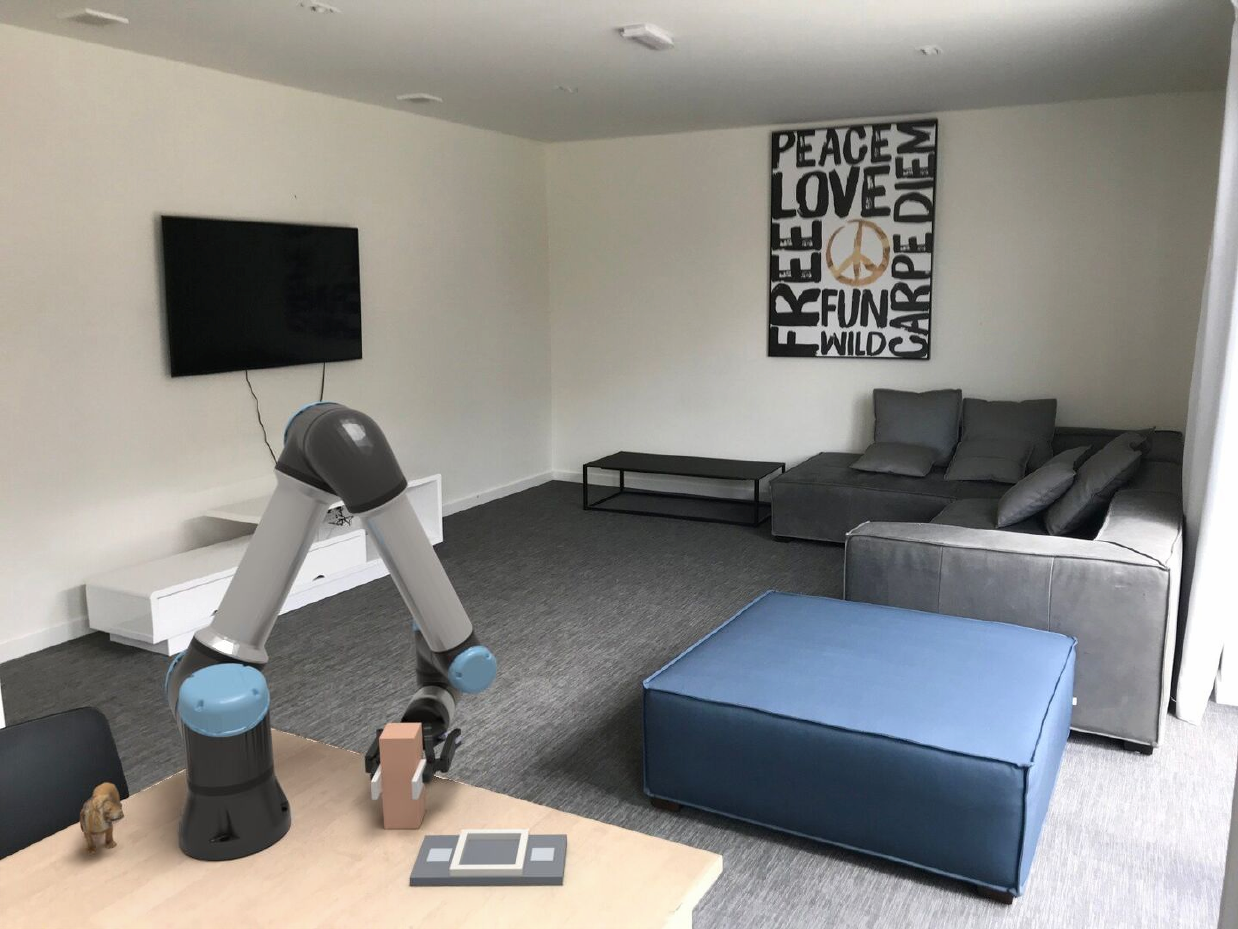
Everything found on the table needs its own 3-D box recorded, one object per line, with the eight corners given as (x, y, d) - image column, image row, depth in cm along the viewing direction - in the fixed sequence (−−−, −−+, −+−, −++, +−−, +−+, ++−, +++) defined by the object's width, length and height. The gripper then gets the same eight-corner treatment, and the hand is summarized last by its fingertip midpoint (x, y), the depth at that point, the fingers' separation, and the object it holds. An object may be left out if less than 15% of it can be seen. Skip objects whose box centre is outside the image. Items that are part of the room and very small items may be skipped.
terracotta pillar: (384, 828, 142) (379, 738, 140) (392, 810, 147) (387, 723, 145) (418, 828, 142) (414, 738, 140) (425, 810, 147) (421, 723, 145)
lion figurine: (127, 858, 136) (120, 798, 135) (83, 868, 134) (76, 808, 132) (124, 809, 149) (118, 753, 147) (84, 818, 147) (78, 762, 145)
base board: (409, 886, 129) (409, 870, 129) (425, 843, 139) (424, 828, 138) (562, 885, 129) (562, 869, 128) (567, 842, 139) (566, 828, 138)
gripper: (483, 739, 162) (459, 814, 139) (373, 740, 162) (332, 815, 139) (481, 696, 160) (457, 765, 137) (371, 697, 161) (328, 766, 138)
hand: (394, 790), depth 138 cm, fingers closed on terracotta pillar, 5 cm apart
